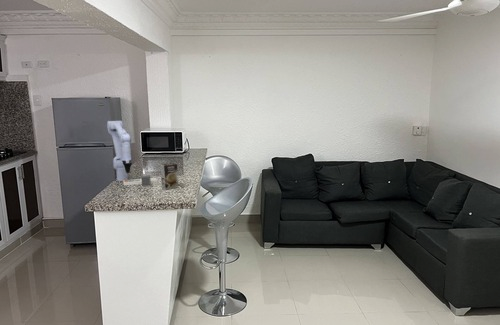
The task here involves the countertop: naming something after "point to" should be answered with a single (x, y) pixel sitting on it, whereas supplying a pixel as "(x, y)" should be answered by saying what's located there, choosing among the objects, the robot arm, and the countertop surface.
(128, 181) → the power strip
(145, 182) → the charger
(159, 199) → the countertop surface
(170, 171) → the coffee box
